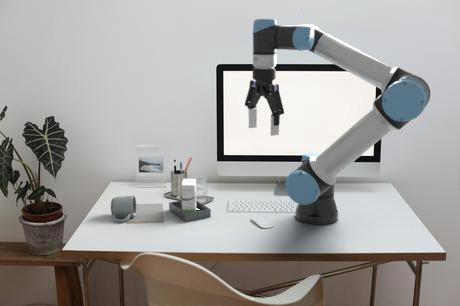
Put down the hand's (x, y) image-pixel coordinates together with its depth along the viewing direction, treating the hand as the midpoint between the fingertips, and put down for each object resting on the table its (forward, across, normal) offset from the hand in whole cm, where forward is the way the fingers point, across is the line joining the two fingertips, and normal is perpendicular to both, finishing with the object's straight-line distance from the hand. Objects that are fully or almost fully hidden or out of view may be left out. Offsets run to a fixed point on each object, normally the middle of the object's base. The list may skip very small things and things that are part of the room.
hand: (263, 131), depth 190 cm
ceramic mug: (+33, -29, -40) cm, 59 cm away
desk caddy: (+33, -21, -18) cm, 43 cm away
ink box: (+32, -21, -18) cm, 43 cm away
